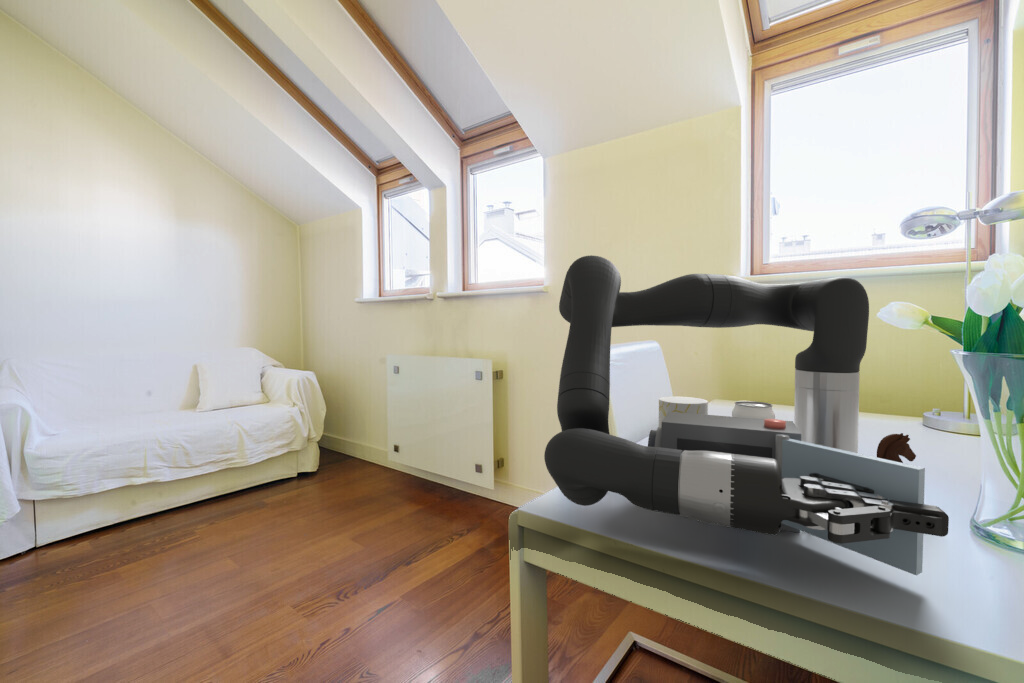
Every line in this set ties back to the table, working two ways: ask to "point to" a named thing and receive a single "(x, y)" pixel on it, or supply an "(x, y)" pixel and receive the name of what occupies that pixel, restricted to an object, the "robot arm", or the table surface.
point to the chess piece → (895, 448)
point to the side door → (865, 472)
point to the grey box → (722, 435)
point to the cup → (681, 406)
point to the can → (753, 410)
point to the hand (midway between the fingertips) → (944, 521)
